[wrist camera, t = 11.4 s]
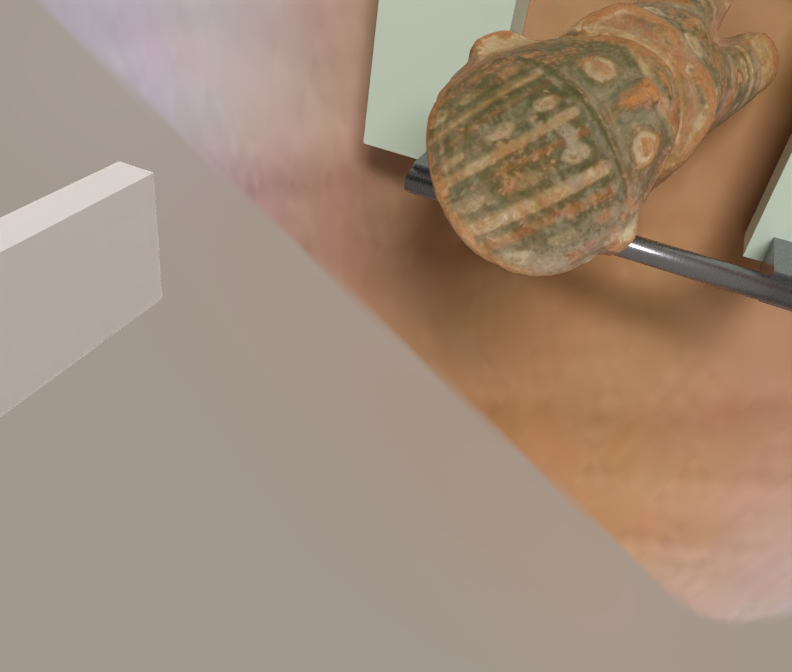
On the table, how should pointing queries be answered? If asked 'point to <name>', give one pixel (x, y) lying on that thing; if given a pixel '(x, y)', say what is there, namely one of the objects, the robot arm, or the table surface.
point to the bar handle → (681, 257)
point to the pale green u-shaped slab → (449, 51)
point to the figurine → (583, 127)
